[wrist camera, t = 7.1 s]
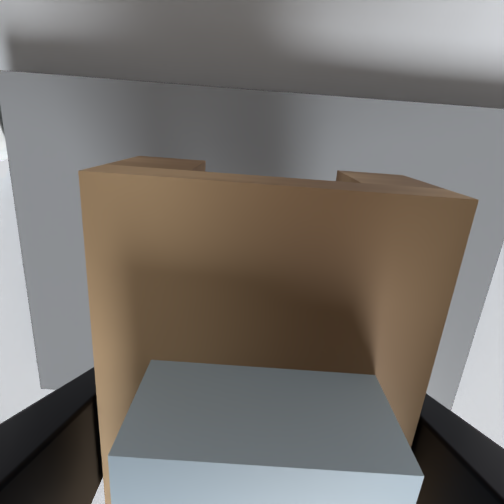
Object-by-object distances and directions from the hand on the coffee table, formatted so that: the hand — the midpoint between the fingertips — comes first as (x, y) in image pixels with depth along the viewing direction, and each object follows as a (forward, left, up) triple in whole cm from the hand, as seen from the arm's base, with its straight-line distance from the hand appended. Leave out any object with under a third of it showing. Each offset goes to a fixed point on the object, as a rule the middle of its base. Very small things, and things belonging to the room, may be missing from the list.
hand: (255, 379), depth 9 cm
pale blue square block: (0, 0, +2) cm, 2 cm away
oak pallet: (0, 0, -1) cm, 1 cm away
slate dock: (0, 0, -9) cm, 9 cm away
